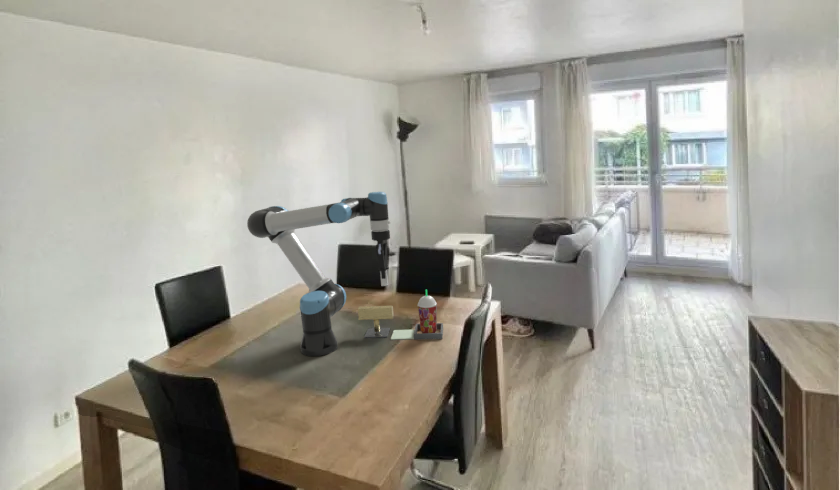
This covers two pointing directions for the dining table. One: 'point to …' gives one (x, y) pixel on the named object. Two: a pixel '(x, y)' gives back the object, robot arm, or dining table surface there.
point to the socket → (428, 335)
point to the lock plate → (377, 333)
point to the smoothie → (427, 314)
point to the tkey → (375, 314)
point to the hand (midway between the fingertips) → (384, 285)
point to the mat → (402, 334)
